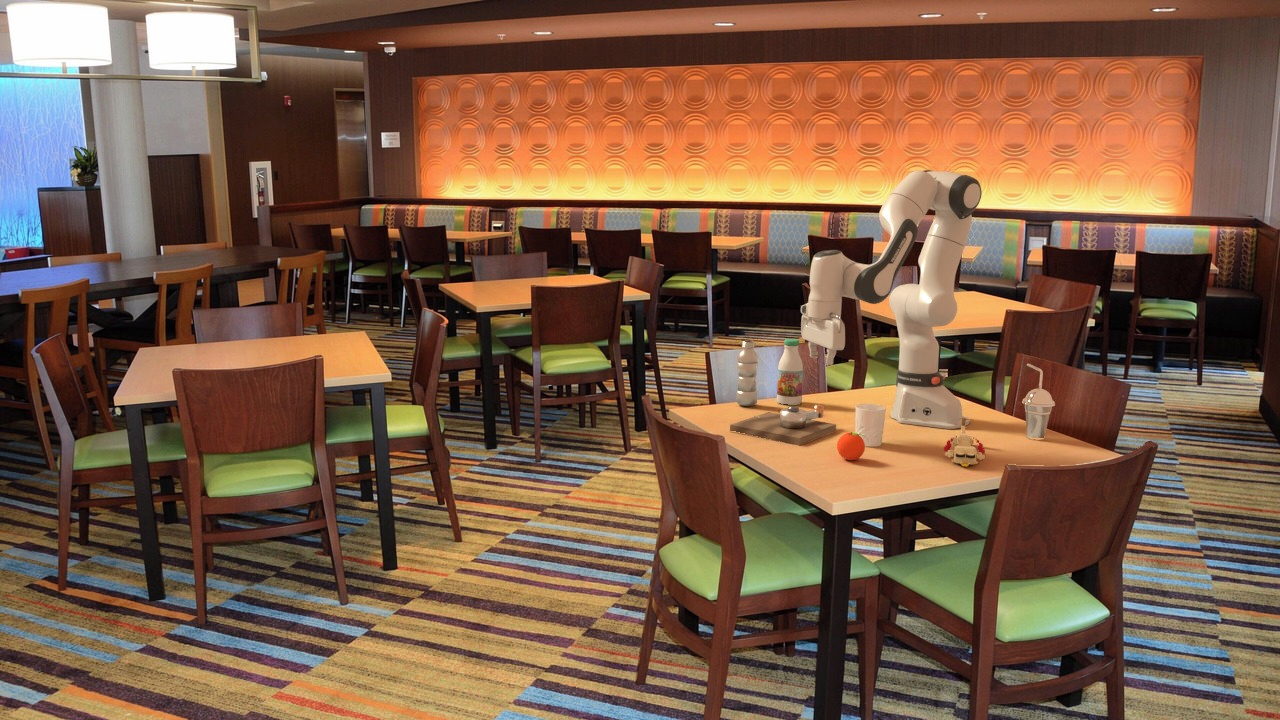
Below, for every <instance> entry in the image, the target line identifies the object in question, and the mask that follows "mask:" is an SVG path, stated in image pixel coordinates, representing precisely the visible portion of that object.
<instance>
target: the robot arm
mask: <svg viewBox="0 0 1280 720" xmlns="http://www.w3.org/2000/svg"><path fill="white" fill-rule="evenodd" d="M982 194H983V193H982V187H981V183H980V181H979V180H978V179H976V178H975V177H972V176H971V175H966V174H962V173H961V174H960V173H956V172H953V171H952V172H951V171H942V170H941V171H940V170H931V169H926V170H915V171H911V172H910V173H909V174H907V175H906V177H904V178H903V179H902V180H901V181H900V182H899V183H898V184H897V185H896V187H895V188H894V189H893V190H892V191H891V193H890V194H889V195H888V197H887V198H886V199H885V200H884V202H883V204H882V206H881V208H880V209H879V213H878V217H879V218H878V219H879V222H880V225H881V227H882V228H883V230H884V231H885V232H886V233H887V234H888V235H889V236H890V238H889V241H888V243H887V245H886V246H885V248H884V249H883V252H882V253H881V255H880V257H879V259H877V260H876V262H873V263H871V264H864V263H861V262H856V261H854V260H851V259H850V258H848V257H847V256H845V255H844V254H843V252H842V251H841V250H838V249H829V250H828V249H827V250H826V249H825V250H821V251H818V252H817V253H815V254H814V255H813V257H812V260H811V265H810V272H809V286H810V287H809V288H810V291H809V295H808V301H807V303H805V304H803V305H800V313H801V314H802V315H801V322H800V326H801V327H800V333H801V337H802V339H803V340H805V341H807V342H808V345H807V346H808V349H809V357H810V358H811V359H818V358H819V352H818V347H817V346H821V347H823V348H825V349H826V352H827V354H826V357H824V364H826V365H827V366H832V365H834V358H835V356H836V354H837V351H843V350H844V348H845V346H846V327H845V326H846V325H845V323H844V321H843V320H842V318H841V317H842V316H841V315H842V303H843V302H842V301H843V300H842V299H843V298H842V297H845V298H849V299H853V300H857V301H862V302H865V303H868V304H871V305H877V304H880V303H882V302H884V301H885V300H886V299H887V298H888V296H889V299H888V303H889V304H888V306H889V308H890V310H891V312H892V314H893V316H894V318H895V323H896V327H897V332H898V339H899V358H898V369H897V370H896V377H895V381H896V382H895V383H896V384H895V385H896V391H895V398H894V401H893V406H892V409H891V413H890V418H892V419H894V420H896V421H897V422H898V423H900V424H906V425H916V426H922V427H924V426H925V427H930V428H938V429H947V430H948V429H949V430H952V429H954V430H955V429H961V424H962V418H966V423H965V427H966V426H968V425H970V423H971V419H970V418H969V417H968V416H963V408H962V407H963V405H962V403H961V400H960V399H959V398H957V397H956V395H954V394H953V393H952V392H951V391H950V390H949V389H948V388H947V387H945V385H944V380H945V379H946V374H943V375H942V374H941V373H940V371H939V355H940V345H939V342H938V340H937V339H936V337H935V334H934V329H933V328H937V327H938V328H939V327H944V326H948V325H949V324H951V323H952V322H953V321H954V320H955V319H956V316H957V313H958V303H957V299H956V298H955V280H956V274H957V270H958V268H959V267H958V266H959V264H960V261H961V258H962V255H963V253H964V250H965V247H966V245H967V242H968V238H969V235H970V231H971V225H972V220H973V219H972V218H973V215H972V214H973V213H974V211H975V210H976V208H977V207H978V206H979V204H980V202H981V198H982ZM929 210H931V211H935V212H934V213H935V217H934V218H933V219H934V220H933V221H932V224H931V225H930V228H929V230H928V232H927V235H926V238H925V240H924V243H923V246H922V248H921V250H920V251H921V252H920V254H919V256H918V262H917V263H918V266H919V268H920V276H919V284H917V283H906V284H900V285H898V286H897V287H895V288H894V289H893V286H894V285H895V284H894V282H895V281H896V278H897V275H898V274H899V271H900V269H901V268H902V266H903V264H904V263H905V261H906V258H907V257H908V256H909V253H910V252H911V250H912V248H913V246H914V244H915V241H916V239H917V238H918V237H917V236H918V232H919V230H918V227H919V225H920V223H921V222H922V220H923V218H925V215H926V214H927V213H928V211H929ZM892 289H893V290H892Z"/></svg>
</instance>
